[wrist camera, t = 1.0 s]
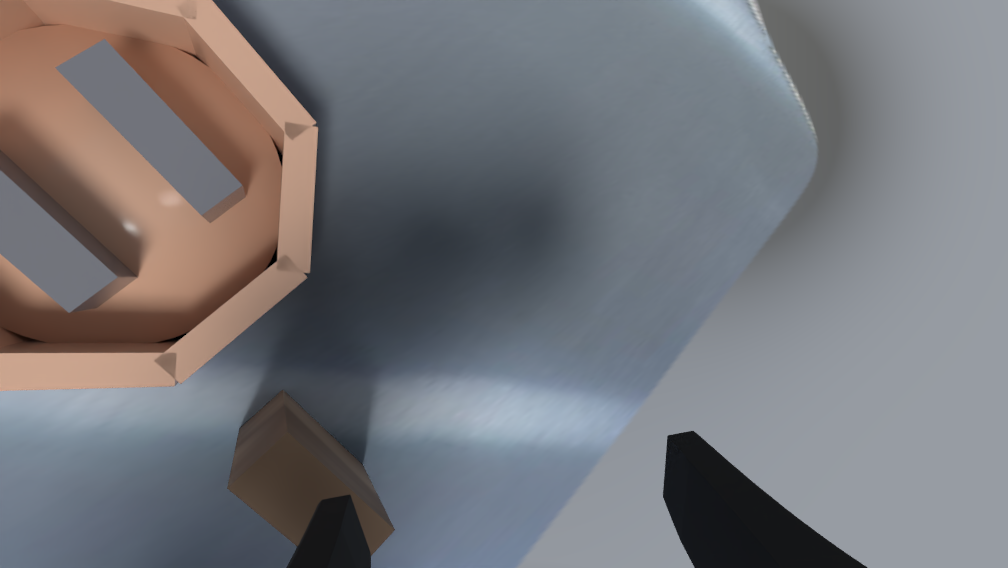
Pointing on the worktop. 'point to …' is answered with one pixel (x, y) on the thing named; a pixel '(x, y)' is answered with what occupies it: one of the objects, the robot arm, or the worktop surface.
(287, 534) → the brown rectangular block
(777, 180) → the worktop surface
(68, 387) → the tan octagonal tray
